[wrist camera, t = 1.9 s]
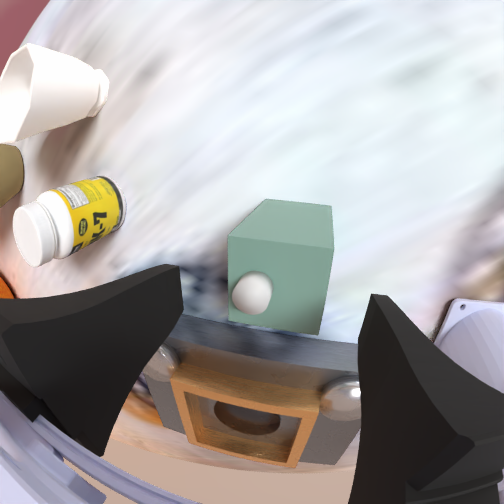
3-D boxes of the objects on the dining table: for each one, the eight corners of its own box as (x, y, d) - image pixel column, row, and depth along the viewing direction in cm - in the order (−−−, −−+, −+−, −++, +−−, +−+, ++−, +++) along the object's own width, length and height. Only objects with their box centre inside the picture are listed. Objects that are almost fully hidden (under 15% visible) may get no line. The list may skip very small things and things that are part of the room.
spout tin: (331, 205, 16) (334, 259, 9) (323, 266, 18) (316, 350, 10) (265, 198, 17) (218, 245, 10) (263, 258, 18) (221, 334, 11)
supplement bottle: (115, 241, 21) (41, 288, 14) (82, 207, 21) (7, 240, 14) (137, 198, 19) (49, 236, 12) (100, 163, 19) (13, 186, 11)
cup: (129, 112, 17) (39, 114, 10) (56, 158, 20) (-14, 177, 13) (116, 39, 14) (36, 21, 7) (47, 96, 18) (-20, 101, 10)
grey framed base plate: (385, 346, 19) (393, 395, 14) (337, 443, 25) (332, 479, 20) (147, 305, 23) (115, 338, 18) (174, 409, 29) (156, 438, 25)
